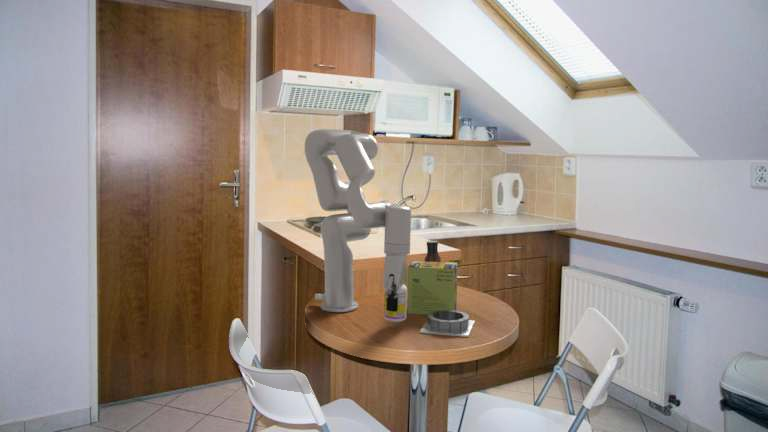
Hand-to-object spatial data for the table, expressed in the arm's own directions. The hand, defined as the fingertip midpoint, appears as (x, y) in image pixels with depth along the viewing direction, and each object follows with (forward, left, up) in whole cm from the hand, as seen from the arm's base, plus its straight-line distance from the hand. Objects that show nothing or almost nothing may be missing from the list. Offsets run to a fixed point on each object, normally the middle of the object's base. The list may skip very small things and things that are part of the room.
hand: (395, 306), depth 162 cm
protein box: (+7, +20, -7) cm, 23 cm away
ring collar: (+15, +4, -6) cm, 17 cm away
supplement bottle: (0, 0, -4) cm, 4 cm away
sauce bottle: (+3, +40, -7) cm, 41 cm away
